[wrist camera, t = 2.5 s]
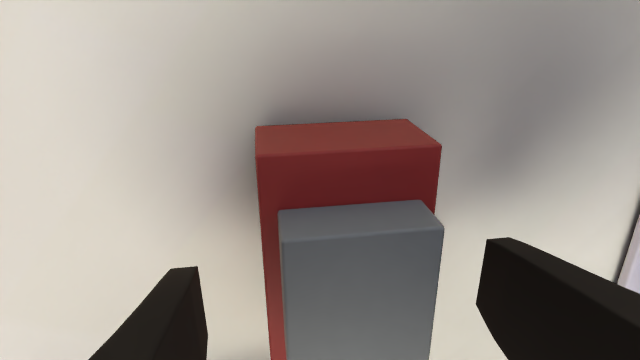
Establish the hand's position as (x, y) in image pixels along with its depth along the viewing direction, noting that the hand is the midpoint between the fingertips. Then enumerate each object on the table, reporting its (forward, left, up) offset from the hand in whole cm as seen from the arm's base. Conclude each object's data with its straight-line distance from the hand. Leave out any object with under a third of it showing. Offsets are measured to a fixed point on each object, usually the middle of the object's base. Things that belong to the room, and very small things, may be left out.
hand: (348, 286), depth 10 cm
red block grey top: (0, 0, -3) cm, 3 cm away
